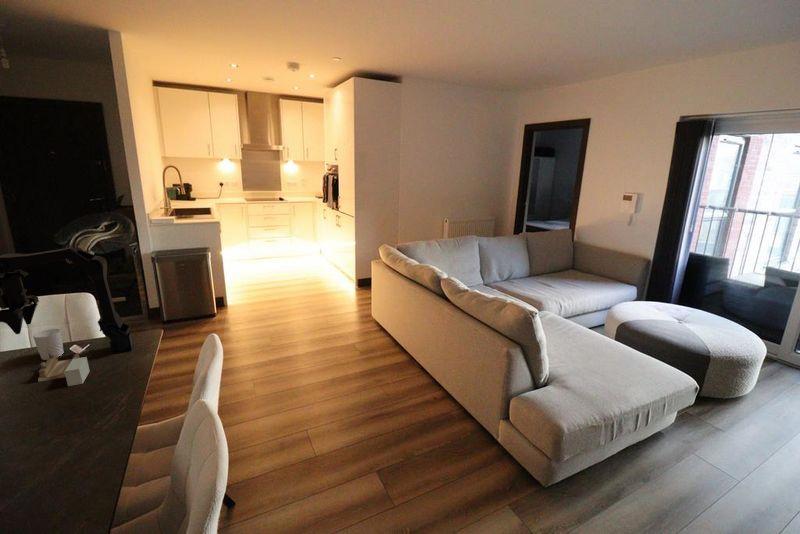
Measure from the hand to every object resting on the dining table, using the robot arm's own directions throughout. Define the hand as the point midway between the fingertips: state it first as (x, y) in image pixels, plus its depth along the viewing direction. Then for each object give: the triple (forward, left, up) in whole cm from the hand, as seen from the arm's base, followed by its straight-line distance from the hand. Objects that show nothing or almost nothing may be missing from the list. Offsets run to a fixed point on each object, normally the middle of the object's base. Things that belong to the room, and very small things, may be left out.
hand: (23, 328), depth 138 cm
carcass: (-11, +10, -15) cm, 21 cm away
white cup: (-4, -5, -15) cm, 16 cm away
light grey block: (-18, +19, -15) cm, 30 cm away
